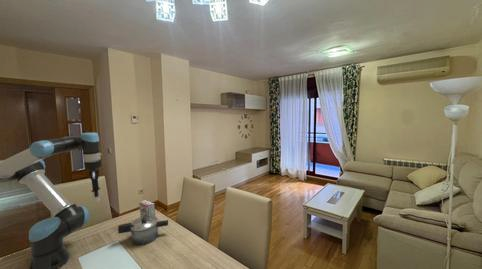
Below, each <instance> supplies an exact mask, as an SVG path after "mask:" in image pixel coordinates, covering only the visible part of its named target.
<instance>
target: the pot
mask: <svg viewBox="0 0 482 269" xmlns="http://www.w3.org/2000/svg"><path fill="white" fill-rule="evenodd" d="M166 226H169V220H167V219H166V220H161V221H159V220H158V222H157V224H156V225H155V226H154V227H152V228H150V229H148V230H145V231H140V232H135V231H132V230H130V228H129V229H124V230H120V231H118V234H125V233H130V238H131V244H132V245H133V246H136V247H142V246H143V247H144V246H146V245H149V244H151V243H153V242H154V241H155V240H156V239H158V236H159V228H161V227H166Z"/></svg>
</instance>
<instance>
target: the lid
mask: <svg viewBox="0 0 482 269" xmlns="http://www.w3.org/2000/svg"><path fill="white" fill-rule="evenodd" d="M157 222H159V220H158V217H156V215H155V216H144V217H141V216H140V217H138V218H136V219H134V220H133V221H131V222H128V223H122V224H119V225H118V226H117V230H118V231H120V230H124V229H129V228H130V230H132V231H135V232H140V231H145V230H148V229H150V228H152V227H154V226H155V225H156V224H157Z"/></svg>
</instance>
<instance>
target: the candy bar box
mask: <svg viewBox="0 0 482 269" xmlns="http://www.w3.org/2000/svg"><path fill="white" fill-rule="evenodd" d="M138 204H139V214H140V218H141V217H144V216H155V217H156V209H155V208H156V207H155V206H156V205H155V203H154V202H151V201H149V200H146V199H143V200H141V201H139V202H138Z"/></svg>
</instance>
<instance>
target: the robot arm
mask: <svg viewBox="0 0 482 269" xmlns="http://www.w3.org/2000/svg"><path fill="white" fill-rule="evenodd" d="M73 151H82V159H83V166H84V169H86V170H89V176H90V180H91V188H92V190H91V193H92V194H93V195H92V196H93V202H94V203H99V202H101V197H100V189H101V187H99V186H100V185H99V169H100V168H101V167H102V166H103V165H102V160H101V159H102V157H101V156H102V155H103V153H101V146H100V137H99V134H98V132H83V133H81V134H80V136H74V135H73V136H71V135H70V136H64V137H61V138H59V137H58V138H53V139H46V140H45V139H43V140H38V141H35V142H32V143H31V145H30V146H29V148H26V149H25V150H23V151H21V152H18V153H16V154H14V155H12V156H10V157H8V158H6V159H3V160H0V184H3V183H8V182H12V181H17V182H18V183H19V184H20V185H26V186H27V187H28V189H29V190H30V191H31V192H32V193H33V194H34V195H35V196H36V197H37V199H38V200H39V201H40V202H42V204H43V205H44V206H45V207H46V208H47V209H48V211H49V212H51V214H52V216H51V217H47V218H46V219H43V220H40V221H38V222H36V223H35V224H33V225H32V226H31V227H30V229H29V231H28V240H29V244H30V250H31V256H32V257H31V261H30V264H29V267H28V269H56V268H58V267H60V266H62V265H63V264H64V265H65V264H67V262H69V260H70V258H69V257H70V252H69V251H68V249H67V248H66V247H65V245H64V238H66V237H68V236H69V235H71V234H72V233H74V232H75V231H77V230H79V229H81V228H83V226H85V225H86V224H87V223H88V221H89V219H90V212H89V210H88V208H86V206H83V205H79V206H78V205H77V204H76V203H70V202H69V200H68V199H67V198H66V197H65V196H64V195H63V194H62V193H61V191H59V189H58V188H57V187H56V186H55V184H53V183H52V182H51V181H50V179H49V178H48V177H47V176H46V175H45V173H46V170H45V169H46V165H45V164H46V163H45V161H44V160H45V159H47V158H49V157H51V156H55V155H57V154H62V153H63V154H64V153H68V152H73ZM68 259H69V260H68ZM64 265H63V266H64ZM63 266H62V267H63ZM60 268H61V267H60ZM58 269H59V268H58Z"/></svg>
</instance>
